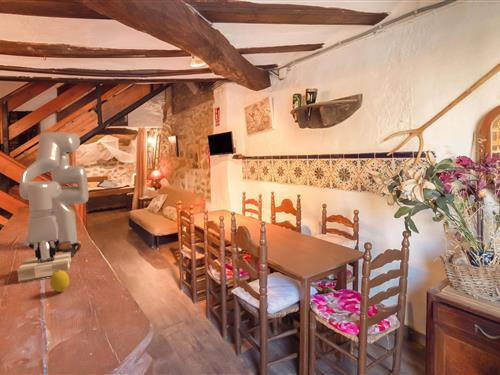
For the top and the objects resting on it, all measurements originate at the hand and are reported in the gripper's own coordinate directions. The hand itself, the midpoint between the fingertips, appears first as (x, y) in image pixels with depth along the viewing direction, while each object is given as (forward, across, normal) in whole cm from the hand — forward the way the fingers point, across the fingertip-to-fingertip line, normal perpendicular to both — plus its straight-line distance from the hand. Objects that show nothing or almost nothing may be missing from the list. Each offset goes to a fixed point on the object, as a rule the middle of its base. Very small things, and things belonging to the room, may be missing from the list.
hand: (46, 257), depth 122 cm
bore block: (+6, 0, 0) cm, 6 cm away
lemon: (+6, -7, +25) cm, 27 cm away
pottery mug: (+7, -6, -20) cm, 22 cm away
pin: (+4, 0, 0) cm, 4 cm away
